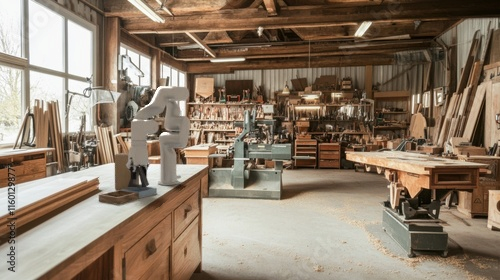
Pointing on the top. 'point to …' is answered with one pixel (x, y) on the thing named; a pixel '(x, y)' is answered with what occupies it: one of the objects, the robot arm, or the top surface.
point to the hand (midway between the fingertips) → (138, 178)
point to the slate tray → (142, 191)
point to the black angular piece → (142, 177)
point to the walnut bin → (114, 196)
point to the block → (122, 172)
